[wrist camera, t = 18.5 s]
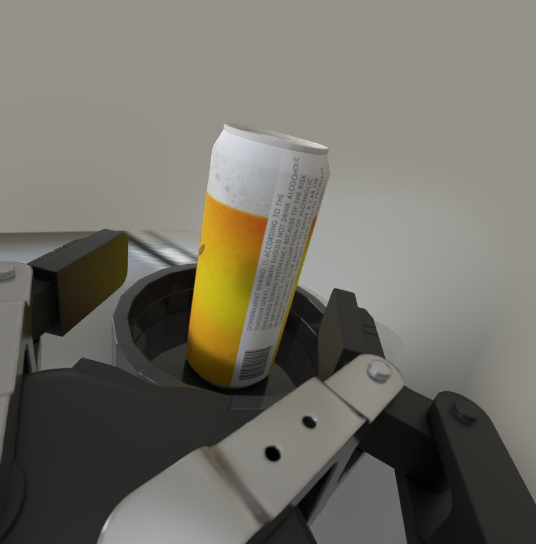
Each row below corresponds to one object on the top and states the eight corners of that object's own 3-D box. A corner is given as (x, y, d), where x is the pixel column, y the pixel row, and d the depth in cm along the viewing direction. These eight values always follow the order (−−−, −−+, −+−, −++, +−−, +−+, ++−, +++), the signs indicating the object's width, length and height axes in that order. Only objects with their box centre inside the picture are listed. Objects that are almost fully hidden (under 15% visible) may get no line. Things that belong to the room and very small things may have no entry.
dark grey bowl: (55, 426, 17) (47, 361, 15) (169, 291, 30) (173, 247, 28) (329, 501, 16) (360, 445, 14) (323, 331, 29) (338, 290, 27)
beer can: (240, 326, 26) (283, 132, 20) (288, 376, 23) (361, 156, 16) (170, 346, 23) (193, 115, 16) (212, 410, 19) (267, 140, 12)
